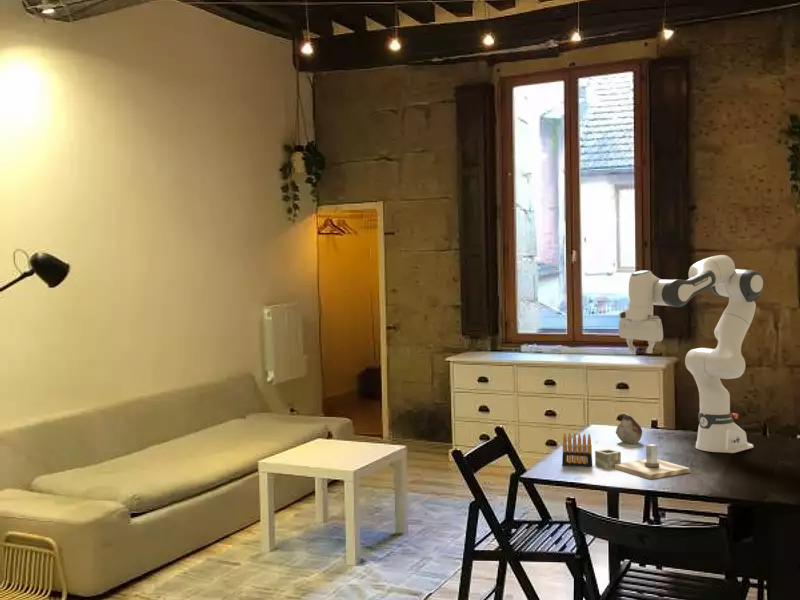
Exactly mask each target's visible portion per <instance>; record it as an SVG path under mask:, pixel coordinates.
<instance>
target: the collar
mask: <svg viewBox="0 0 800 600" xmlns="http://www.w3.org/2000/svg"><path fill="white" fill-rule="evenodd" d="M621 454H622V453H621V451H617V450H615V449H611V448H608V449H607V448H606V449H599V450H595V451H594V456H595V460H594V461H595V462H594V463H595V466H599V467H601V468H606V469H610V468H615V464H619V463H622V461H621V460H622V459H621V456H622V455H621Z"/></svg>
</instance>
